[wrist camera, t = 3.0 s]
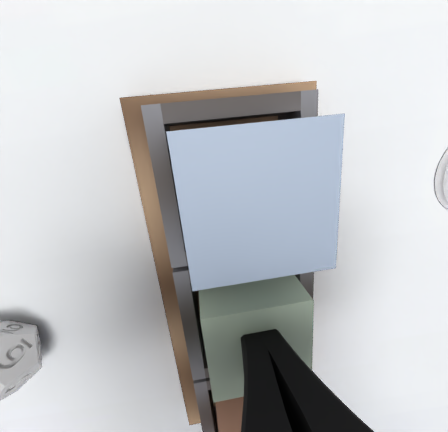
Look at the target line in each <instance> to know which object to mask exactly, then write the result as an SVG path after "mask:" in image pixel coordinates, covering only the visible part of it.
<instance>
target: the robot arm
mask: <svg viewBox="0 0 448 432" xmlns="http://www.w3.org/2000/svg"><path fill="white" fill-rule="evenodd" d="M241 348H242V359H243V369H244V399H243V412H242V425H241V432H374V431H373V430H372V429H370V428H369V427H368V426H367V425H366V424H365V423H364V422H363V421H362V420H361V419H359V418H358V417H357V416H356V415H355V414H354V413H353V412H352V411H351V410H350V409H349V408H348V407H347V406H346V405H345V404H344V403H343V402H342V401H341V400H340V399H339V398H338V397H337V396H336V395H335V394H334V393H333V392H332V391H331V390H330V389H329V388H328V387H327V386H326V385H325V384H324V383H323V382H322V381H321V380H320V379H319V378H318V377H317V376H316V374H315V373H314V372H313V371H312V370H311V369H310V368H309V367H308V366H307V365H306V364H305V362H304V361H303V360H302V359H301V358H300V357H299V355H298V354H297V353H296V352H295V351H294V350H293V348H292V347H291V346H290V345H289V344H288V342H287V341H286V340H285V339H284V337H283V336H282V335H281V333H280V332H279V331H278V330H277V329H272V330H267V331H261V332H256V333H250V334H245V335H243V336H242V337H241Z"/></svg>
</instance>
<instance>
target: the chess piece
mask: <svg viewBox="0 0 448 432" xmlns="http://www.w3.org/2000/svg"><path fill="white" fill-rule="evenodd" d="M435 192H436V195H437V198H438V200H439V202H440V203H441V204H442V205H443V206H444V207H445V208H447V209H448V149H447V151H446V152H445V154H444V155H443V157H442V159H441V161H440V163H439V166H438V168H437V172H436V176H435Z"/></svg>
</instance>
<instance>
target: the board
mask: <svg viewBox="0 0 448 432" xmlns="http://www.w3.org/2000/svg"><path fill="white" fill-rule="evenodd" d="M316 82H317V81H309V82H297V83H286V84H274V85H263V86H251V87H239V88H228V89H216V90H205V91H193V92H181V93H170V94H158V95H147V96H135V97H123V98H120V102H121V107H122V111H123V116H124V121H125V125H126V130H127V135H128V139H129V144H130V149H131V153H132V158H133V163H134V167H135V172H136V177H137V182H138V186H139V191H140V196H141V200H142V205H143V210H144V214H145V219H146V224H147V228H148V233H149V238H150V242H151V247H152V252H153V256H154V261H155V266H156V271H157V275H158V280H159V285H160V289H161V294H162V299H163V303H164V308H165V313H166V317H167V322H168V327H169V331H170V336H171V341H172V345H173V350H174V355H175V359H176V364H177V369H178V374H179V378H180V383H181V388H182V392H183V397H184V402H185V406H186V411H187V416H188V420H189V425H193V424H197V423H201V426H202V431H203V432H218V422H217V412H216V402H214V403H213V396H212V390H211V384H210V378H209V371H208V365H207V359H206V352H205V346H204V340H203V334H202V327H201V321H200V306H199V290H198V291H192V285H191V279H190V273H189V267H188V261H187V255H186V249H185V243H184V237H183V230H182V224H181V218H180V212H179V206H178V200H177V194H176V188H175V182H174V176H173V170H172V163H171V157H170V151H169V145H168V139H167V133H166V132H167V131H177V130H187V129H197V128H207V127H217V126H227V125H237V124H247V123H257V122H267V121H276V120H286V119H296V118H306V117H316V116H318V89H317V90H316ZM295 276H296V277H297V279H298V280H299V281H300V283H301V284H302V285H303V287H304V288H305V289H306V291H307V292H308V293H309V295H310V296H311V297H312V299H313V282H314V272H308V273H302V274H296V275H295Z"/></svg>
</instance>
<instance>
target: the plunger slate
mask: <svg viewBox="0 0 448 432" xmlns="http://www.w3.org/2000/svg"><path fill="white" fill-rule="evenodd" d="M344 117H345V114H336V115H326V116H316V117H306V118H296V119H286V120H276V121H267V122H257V123H247V124H237V125H227V126H217V127H207V128H197V129H187V130H177V131H167V132H166V133H167V139H168V145H169V151H170V157H171V163H172V170H173V176H174V182H175V188H176V194H177V200H178V206H179V212H180V218H181V224H182V230H183V237H184V243H185V249H186V255H187V261H188V267H189V273H190V279H191V285H192V291H198V290H204V289H210V288H216V287H222V286H229V285H235V284H241V283H247V282H253V281H259V280H265V279H272V278H278V277H284V276H290V275H296V274H302V273H308V272H315V271H321V270H327V269H333V268H336V256H337V239H338V221H339V204H340V187H341V169H342V152H343V135H344Z"/></svg>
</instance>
